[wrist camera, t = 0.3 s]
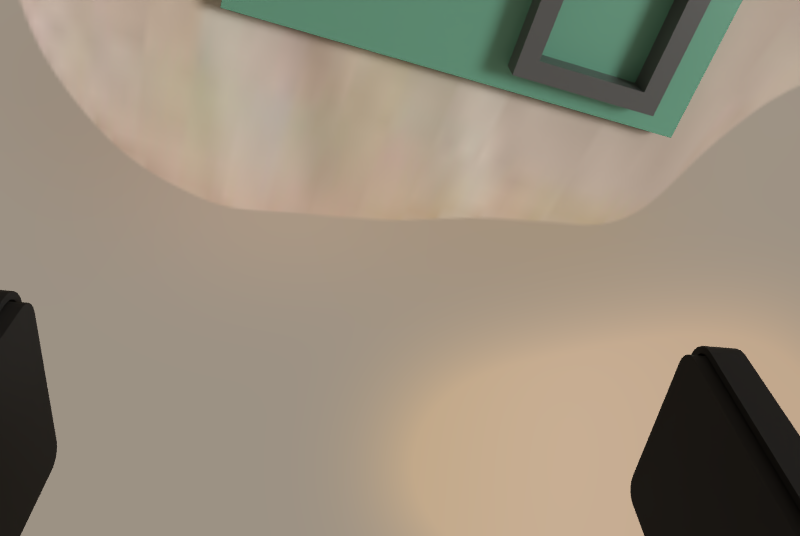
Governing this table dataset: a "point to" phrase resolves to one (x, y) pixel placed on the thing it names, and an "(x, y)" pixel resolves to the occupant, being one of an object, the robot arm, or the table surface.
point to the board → (536, 46)
